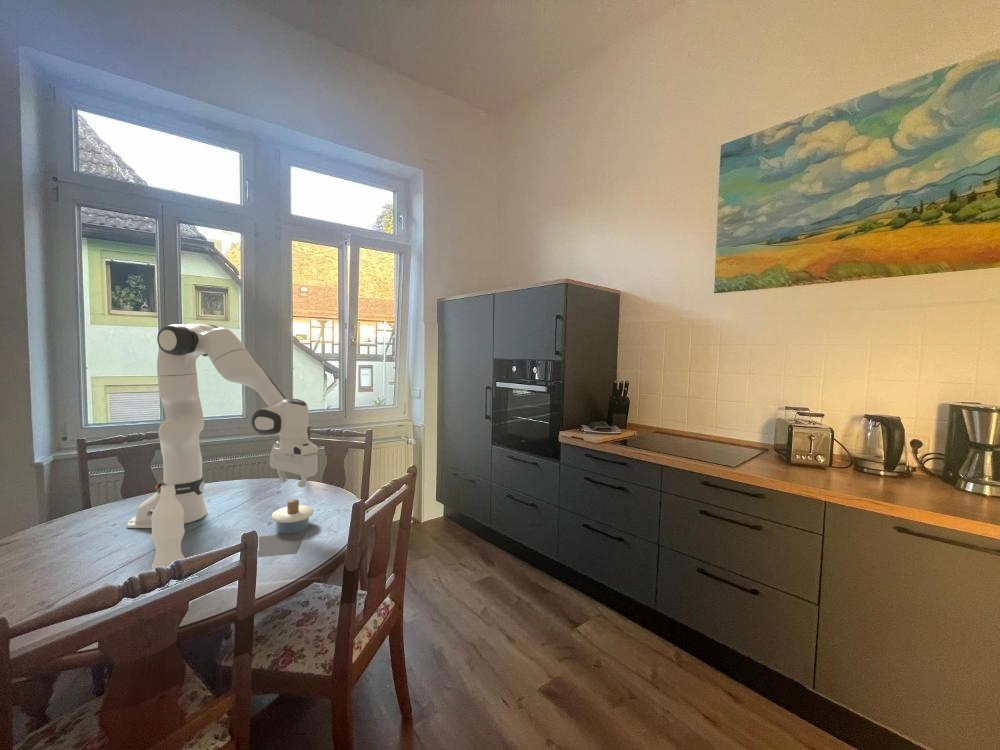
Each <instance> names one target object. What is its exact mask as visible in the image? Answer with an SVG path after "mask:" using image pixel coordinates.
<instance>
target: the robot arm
mask: <svg viewBox="0 0 1000 750" xmlns="http://www.w3.org/2000/svg"><path fill="white" fill-rule="evenodd" d="M156 340H157V345H158V347H159V350H158V352H157V359H156V360H157V361H156V372H157V384H158V392H159V393H158V394H159V399H160V400H161V403H162V407H163V410H164V414H165V419H164V421H162V422H161V424H160V425H159V428H158V434H157V435H158V439H159V444H160V445H159V446H160V451H161V455H162V461H163V464H162V467H163V479H162V480H161V481H160V482H159V483H157V485H155V486H154V487H155V490H157V492H156V493H154V494H153V495H151V496H150V497H149V498H147V499H145V501H143V502H142V503H140V504H139V506H138V508H137V509H136V514H135V516H132V518H131V519H130V520H128V521H127V523H126V524H127V525H126V527H127V528H129V529H152V520H151V516H152V513H153V511H154V509H155V507H156V506H157V504H158V503H159V501H160V497H161V496H159V495H160V494H161V493H160V492H161V486H163V485H167V484H174V485H175V492H176V494H175V497H176V499H177V500H178V501H179V503H180V504H181V505H182V507H183V509H184V525H185V524H189V523H193V522H195V521H197V520H200V519H203V518H204V517H205V516H207V515H208V513H209V512H208V509H207V507H206V503H205V497H204V489H205V481H204V476H203V456H202V452H201V445H200V433H201V432H202V431H203V429H204V428H205V418H204V413H203V407H202V404H201V403H202V401H201V399H200V393H199V384H198V383H199V382H198V374H197V372H198V371H197V365H196V364H197V359H198V358H199V357H200V356H203V357H208V358H209V359H210V361H211V363H212V365H213V366H214V368H215V370H216V371H217V373H218V374H219V375H220V376H221V377H222V378H224V380H226V381H229V382H231V383H234V384H239V385H243V386H247V387H249V388H251V389H252V390H254V391H256V392H257V393H258V395H259V396H260V397H261V398H262V400H263V401H264V402H265V404H266V405H267V406H266V407H263V408H259V409H258V410H256V411H255V412H254V413H253V414H252V417H251V421H250V422H251V427H252V429H253V431H255V433H256V434H258V435H260V436H271V435H279V441H276V442H274V443H273V444H272V449H271V451H270V456H269V462H268V463H269V466H270V468H271V469H276V472H277V474H278V477H279V479H278V481H279V482H280V483H285V482H287V478H288V477H287V475H286V474H285V472H287V473H292V474H295V475H299V477H300V478H301V479H300V481H298V482H297V487H299V488H304V487H305V486H306V482H307V480H308V478H309V477H312V476H315V475H317V472H318V470H319V467H318V465H319V457H318V454H317V453H318V451H319V447H318V446H317V445H316V444H314V442H312V441H311V440H309V435H308V427H309V421H310V420H309V417H310V416H309V407H308V404H307V402H306V401H304V400H302V399H298V398H286V397H285V395H284V394H283V392H282V391H281V390H280V389H279V387H278V386H277V385H276V384H275V382H274V381H273V380H272V378H271V377H270V376H269V375H268V374H267V372H265V371H264V370H263V369H262V368H261V367H260V366H259V365H258V364H257V362H256V361H255V359H254V358H252V356H251V355H250V352H249V351H248V350H247V348H246V346H245V345H244V344H243V342H242V341H241V340H240V338H238V336H236V334H235V333H233V331H232V330H231V329H229V328H226V327H220V326H218V325H214V324H205V323H187V324H186V323H185V324H178V323H176V324H175V323H174V324H169V325H166V326H164V327H162V328H160V330H159V331H158V334H157V339H156Z"/></svg>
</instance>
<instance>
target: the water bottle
mask: <svg viewBox="0 0 1000 750" xmlns="http://www.w3.org/2000/svg"><path fill="white" fill-rule="evenodd" d="M160 493H161V494H160V495H159V496H161V497H160V501H159V503H158V504H157V506H156V507H155V509H154V511H153V513H152V516H151V520H152V528H151V535H150V536H151V537H150V539H151V540H152V542H153V544H154V546H155V547H154V548H155V556H154V559H153V562H152V564H151V570H152V569H154V568H156V567H158V566H164V567H167V566H169V565H170V564H171V563H172V562H173V561H175V560H178V559H183V558H185V556H184V554H183V552H182V541H183V538H184V536H185V534H186V533H185V531H186V529H185V524H184V509H183V507H182V505H181V504H180V503H179V501H178V500H177V499H176V497H175V494H176V492H175V485H174V484H167V485H163V486H161V492H160ZM185 559H186V558H185Z"/></svg>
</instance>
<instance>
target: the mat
mask: <svg viewBox="0 0 1000 750" xmlns="http://www.w3.org/2000/svg"><path fill="white" fill-rule="evenodd" d="M305 535H306V532H297V533H292V534H275V535H261V536H259V537H258V538H259V551H258V557H257V558H259V557H260V558H261V557H270V556H271V557H272V556H281V555H282V556H283V555H293V554H294V555H295V554H297V553H298V551H299V549H300V546H301V545H302V541H303V540H304V538H305V537H304V536H305Z"/></svg>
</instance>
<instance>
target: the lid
mask: <svg viewBox="0 0 1000 750" xmlns="http://www.w3.org/2000/svg"><path fill="white" fill-rule="evenodd" d="M286 504H287V505H286V506H284V507H281V508H278V509H277V510H274V511H273V512H272V514H271V520H272V521H273V522H275V523H276V522H279V523H291V522H297V521H301V520H304V519H307V518H309V519H310V517H312V516H313V514H314V508H313V507H312V506H310V505H306V504H300V500H299V499H297V498H295V499H294V498H293V499H289V500H287V503H286Z"/></svg>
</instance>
